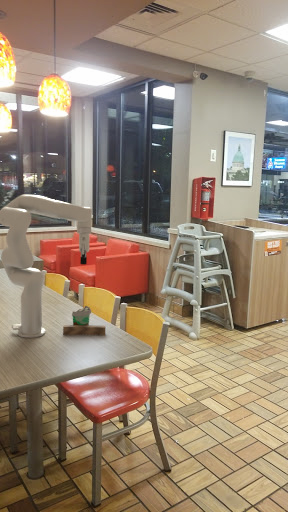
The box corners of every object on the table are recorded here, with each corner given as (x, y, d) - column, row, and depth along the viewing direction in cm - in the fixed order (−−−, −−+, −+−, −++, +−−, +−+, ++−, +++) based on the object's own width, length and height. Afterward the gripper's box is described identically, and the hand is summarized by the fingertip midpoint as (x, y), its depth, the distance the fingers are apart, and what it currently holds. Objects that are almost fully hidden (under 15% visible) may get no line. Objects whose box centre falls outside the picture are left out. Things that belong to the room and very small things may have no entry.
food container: (82, 333, 189) (82, 313, 188) (71, 331, 192) (71, 311, 190) (95, 326, 200) (95, 307, 199) (85, 324, 203) (85, 305, 201)
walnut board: (63, 334, 187) (63, 326, 186) (63, 332, 189) (63, 325, 188) (105, 335, 188) (105, 327, 188) (105, 333, 191) (105, 325, 190)
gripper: (90, 231, 202) (89, 266, 204) (91, 229, 216) (91, 261, 219) (75, 231, 201) (75, 266, 204) (78, 228, 216) (77, 261, 218)
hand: (83, 264), depth 211 cm, fingers closed
